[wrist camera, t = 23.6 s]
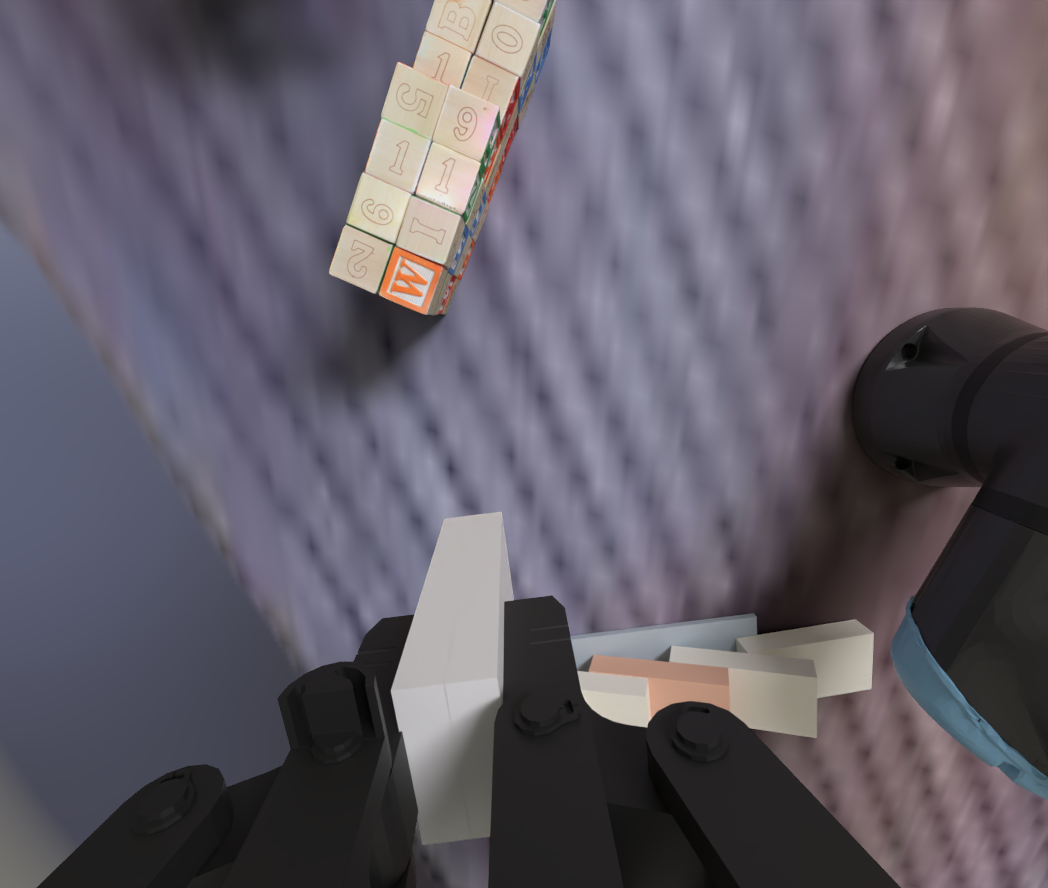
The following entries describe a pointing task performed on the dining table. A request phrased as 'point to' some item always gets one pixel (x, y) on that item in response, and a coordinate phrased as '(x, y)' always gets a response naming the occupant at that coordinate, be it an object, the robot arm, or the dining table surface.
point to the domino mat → (663, 639)
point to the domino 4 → (823, 653)
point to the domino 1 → (617, 697)
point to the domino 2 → (671, 680)
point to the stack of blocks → (442, 150)
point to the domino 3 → (764, 688)
